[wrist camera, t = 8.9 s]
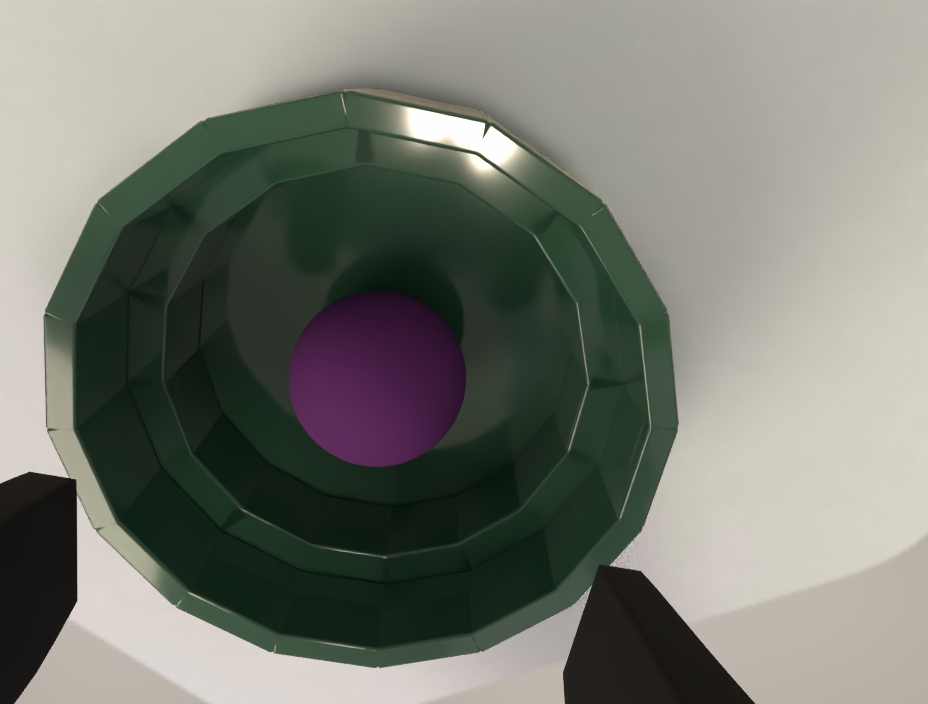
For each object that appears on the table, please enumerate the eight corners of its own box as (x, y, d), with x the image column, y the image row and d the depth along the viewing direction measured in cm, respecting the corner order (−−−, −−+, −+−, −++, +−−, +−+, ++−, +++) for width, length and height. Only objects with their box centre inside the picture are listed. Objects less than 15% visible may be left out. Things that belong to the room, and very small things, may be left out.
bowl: (554, 560, 21) (583, 699, 16) (146, 495, 20) (49, 622, 15) (680, 152, 16) (769, 179, 12) (163, 41, 15) (34, 22, 11)
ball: (447, 427, 18) (448, 515, 15) (298, 403, 18) (261, 486, 14) (478, 286, 17) (487, 344, 13) (317, 256, 17) (280, 306, 13)
